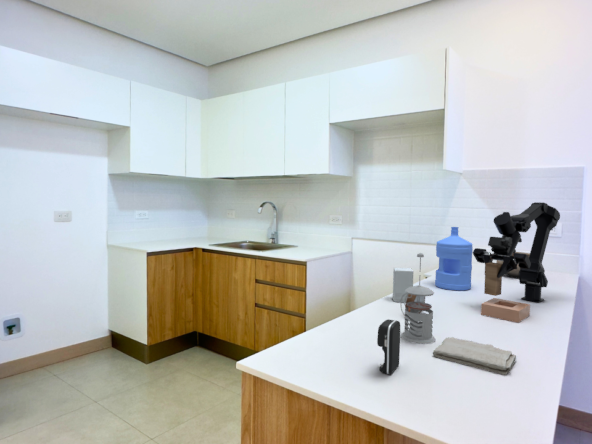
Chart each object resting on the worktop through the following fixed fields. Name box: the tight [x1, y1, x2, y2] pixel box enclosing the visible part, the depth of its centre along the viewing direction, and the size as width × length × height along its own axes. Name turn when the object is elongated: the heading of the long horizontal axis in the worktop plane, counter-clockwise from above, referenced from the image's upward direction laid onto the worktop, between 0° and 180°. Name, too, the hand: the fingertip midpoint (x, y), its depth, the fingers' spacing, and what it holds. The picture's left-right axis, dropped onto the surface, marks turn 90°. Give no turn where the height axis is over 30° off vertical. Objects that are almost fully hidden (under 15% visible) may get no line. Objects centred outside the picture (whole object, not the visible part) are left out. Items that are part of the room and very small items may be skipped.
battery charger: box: [376, 319, 401, 375], centre depth 91 cm, size 7×4×11 cm, turn 149°
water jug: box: [434, 226, 474, 291], centre depth 178 cm, size 16×16×28 cm
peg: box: [483, 261, 503, 297], centre depth 138 cm, size 4×4×11 cm
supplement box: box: [392, 267, 414, 304], centre depth 154 cm, size 7×7×13 cm
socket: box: [480, 297, 531, 324], centre depth 136 cm, size 12×12×4 cm
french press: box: [400, 252, 436, 345], centre depth 113 cm, size 10×12×25 cm
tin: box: [405, 294, 426, 314], centre depth 137 cm, size 15×3×8 cm, turn 145°
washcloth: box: [432, 336, 517, 376], centre depth 98 cm, size 12×18×3 cm, turn 53°
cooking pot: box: [495, 251, 530, 279], centre depth 206 cm, size 25×19×12 cm
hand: (491, 276), depth 137 cm, fingers closed on peg, 4 cm apart
